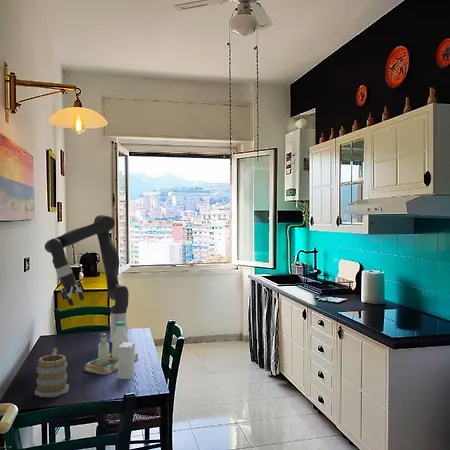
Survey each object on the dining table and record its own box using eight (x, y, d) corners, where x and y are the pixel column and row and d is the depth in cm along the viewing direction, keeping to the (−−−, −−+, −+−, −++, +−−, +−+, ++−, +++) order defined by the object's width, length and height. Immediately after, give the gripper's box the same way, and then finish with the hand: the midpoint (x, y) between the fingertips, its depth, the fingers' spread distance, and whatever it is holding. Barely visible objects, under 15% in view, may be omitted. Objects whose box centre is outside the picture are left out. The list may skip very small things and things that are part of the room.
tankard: (66, 396, 182) (66, 359, 182) (32, 398, 179) (32, 361, 179) (72, 379, 202) (72, 345, 201) (42, 381, 199) (42, 347, 199)
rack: (117, 356, 235) (117, 350, 235) (137, 359, 230) (137, 353, 230) (84, 371, 212) (84, 364, 212) (105, 374, 207) (105, 367, 207)
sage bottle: (102, 366, 219) (103, 332, 219) (111, 368, 217) (111, 333, 217) (95, 369, 214) (96, 334, 214) (104, 371, 212) (104, 335, 212)
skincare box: (122, 373, 210) (122, 341, 210) (134, 373, 210) (135, 341, 209) (117, 379, 201) (117, 346, 201) (131, 379, 201) (131, 346, 201)
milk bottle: (114, 364, 222) (114, 324, 221) (110, 360, 229) (110, 321, 228) (129, 362, 225) (129, 322, 225) (125, 358, 232) (125, 319, 232)
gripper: (61, 276, 229) (73, 305, 231) (79, 268, 242) (91, 296, 244) (51, 280, 232) (63, 309, 234) (69, 272, 245) (80, 299, 247)
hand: (77, 302), depth 239 cm, fingers open, 8 cm apart
